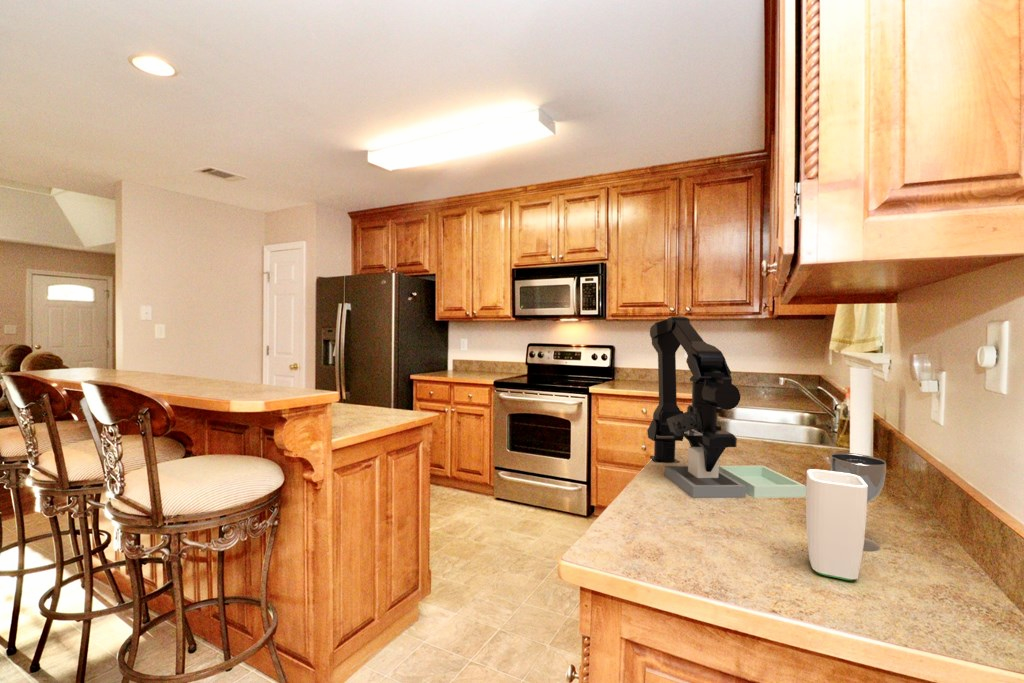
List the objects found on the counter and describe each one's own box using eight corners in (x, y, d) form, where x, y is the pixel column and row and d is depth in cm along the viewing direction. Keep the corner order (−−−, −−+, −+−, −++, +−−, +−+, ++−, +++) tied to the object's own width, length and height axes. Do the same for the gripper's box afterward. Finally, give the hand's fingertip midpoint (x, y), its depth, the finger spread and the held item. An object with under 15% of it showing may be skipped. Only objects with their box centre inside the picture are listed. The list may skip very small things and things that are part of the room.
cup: (802, 556, 79) (805, 467, 78) (855, 566, 76) (859, 474, 75) (808, 576, 72) (811, 480, 72) (866, 589, 69) (870, 487, 69)
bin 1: (664, 477, 120) (664, 465, 120) (710, 477, 121) (710, 465, 121) (692, 500, 104) (693, 486, 104) (745, 499, 105) (745, 486, 105)
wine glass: (877, 556, 79) (880, 467, 79) (822, 540, 85) (825, 457, 85) (887, 543, 84) (890, 459, 84) (834, 528, 90) (837, 450, 90)
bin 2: (717, 477, 121) (718, 465, 121) (762, 477, 122) (763, 465, 122) (754, 499, 105) (754, 486, 105) (805, 499, 106) (806, 486, 106)
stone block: (687, 471, 115) (688, 446, 115) (707, 471, 115) (708, 446, 115) (697, 477, 110) (698, 452, 110) (718, 477, 110) (719, 452, 110)
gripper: (656, 396, 121) (655, 457, 121) (689, 409, 102) (687, 481, 103) (699, 397, 122) (697, 457, 122) (739, 409, 103) (736, 480, 103)
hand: (703, 468), depth 112 cm, fingers closed on stone block, 5 cm apart
